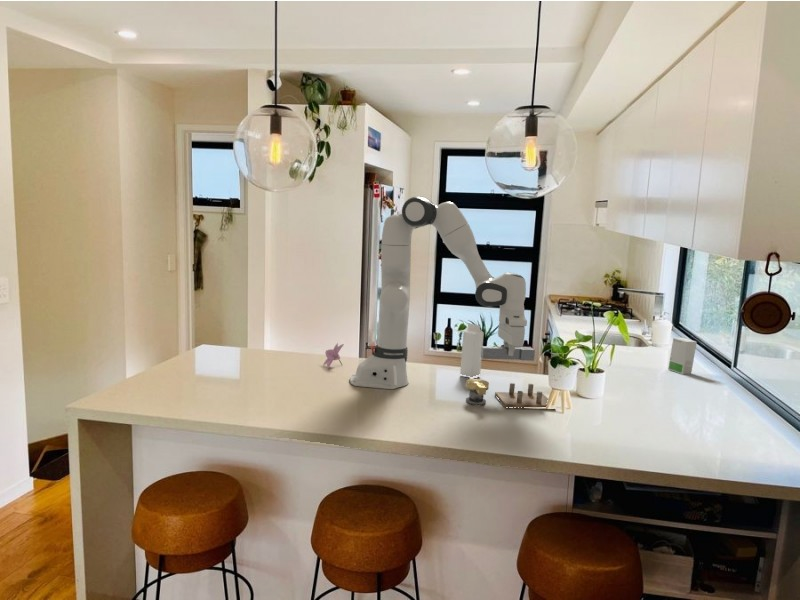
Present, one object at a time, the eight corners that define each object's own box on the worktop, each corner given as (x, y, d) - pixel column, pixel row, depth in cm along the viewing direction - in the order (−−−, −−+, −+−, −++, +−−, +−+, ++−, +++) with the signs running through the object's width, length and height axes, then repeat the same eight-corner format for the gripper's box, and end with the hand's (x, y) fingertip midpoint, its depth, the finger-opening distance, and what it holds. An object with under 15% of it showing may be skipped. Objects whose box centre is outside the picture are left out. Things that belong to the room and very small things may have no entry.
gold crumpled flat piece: (463, 383, 204) (464, 377, 204) (485, 384, 205) (485, 378, 204) (470, 394, 192) (471, 387, 192) (493, 394, 193) (494, 388, 193)
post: (468, 405, 197) (469, 391, 197) (464, 398, 204) (465, 385, 204) (487, 405, 198) (489, 391, 197) (483, 399, 205) (484, 385, 204)
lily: (326, 363, 246) (317, 345, 241) (352, 354, 245) (343, 336, 241) (325, 379, 235) (316, 361, 231) (352, 370, 234) (344, 351, 230)
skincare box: (667, 369, 268) (671, 337, 266) (677, 369, 271) (681, 337, 269) (682, 374, 261) (687, 341, 259) (692, 373, 264) (697, 340, 262)
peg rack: (505, 408, 196) (506, 393, 195) (494, 395, 210) (496, 381, 209) (555, 409, 198) (557, 394, 197) (542, 397, 212) (543, 383, 211)
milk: (471, 379, 230) (475, 326, 227) (459, 376, 234) (463, 323, 231) (480, 377, 234) (484, 325, 231) (468, 374, 239) (472, 322, 235)
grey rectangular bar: (483, 359, 206) (484, 348, 206) (480, 356, 211) (480, 345, 211) (534, 360, 208) (534, 350, 208) (529, 357, 213) (530, 346, 213)
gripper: (495, 312, 218) (492, 347, 219) (511, 321, 197) (508, 360, 199) (511, 312, 218) (508, 348, 220) (528, 322, 198) (525, 361, 200)
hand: (508, 354), depth 210 cm, fingers closed on grey rectangular bar, 3 cm apart
